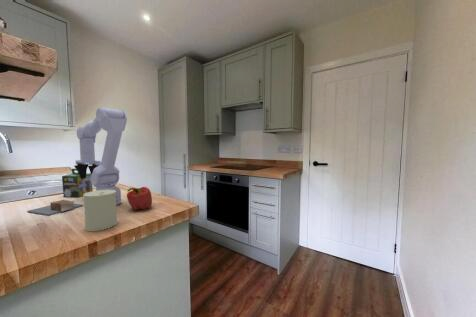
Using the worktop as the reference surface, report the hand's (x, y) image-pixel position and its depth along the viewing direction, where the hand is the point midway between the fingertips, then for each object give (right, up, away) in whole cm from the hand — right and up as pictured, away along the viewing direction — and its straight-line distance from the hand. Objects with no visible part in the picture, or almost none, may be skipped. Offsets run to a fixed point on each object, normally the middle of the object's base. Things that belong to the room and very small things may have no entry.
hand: (88, 179), depth 98 cm
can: (+28, -13, -31) cm, 44 cm away
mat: (-3, -11, -14) cm, 18 cm away
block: (-2, -9, -15) cm, 18 cm away
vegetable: (+32, -12, -13) cm, 37 cm away
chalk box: (-12, -10, +9) cm, 18 cm away
